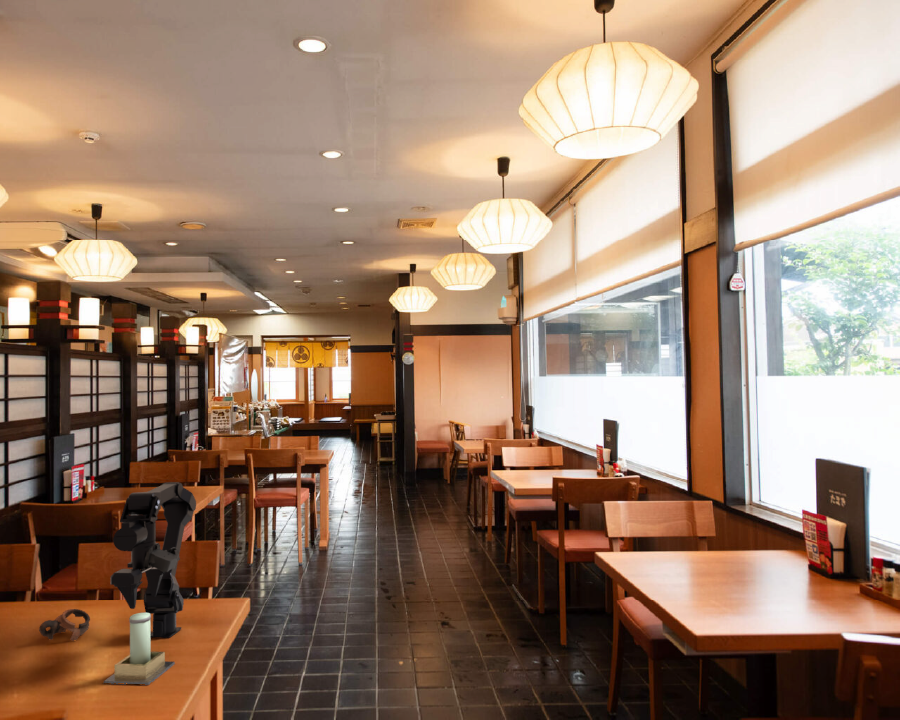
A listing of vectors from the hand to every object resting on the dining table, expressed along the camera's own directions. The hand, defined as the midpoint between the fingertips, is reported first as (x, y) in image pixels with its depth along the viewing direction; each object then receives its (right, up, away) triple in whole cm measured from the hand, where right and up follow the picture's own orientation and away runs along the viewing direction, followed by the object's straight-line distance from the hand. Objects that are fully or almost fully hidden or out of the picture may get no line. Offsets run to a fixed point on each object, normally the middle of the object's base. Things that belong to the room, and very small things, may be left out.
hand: (143, 602), depth 163 cm
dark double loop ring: (-27, -15, +11) cm, 33 cm away
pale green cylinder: (+5, -12, -12) cm, 18 cm away
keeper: (+5, -12, -12) cm, 18 cm away
